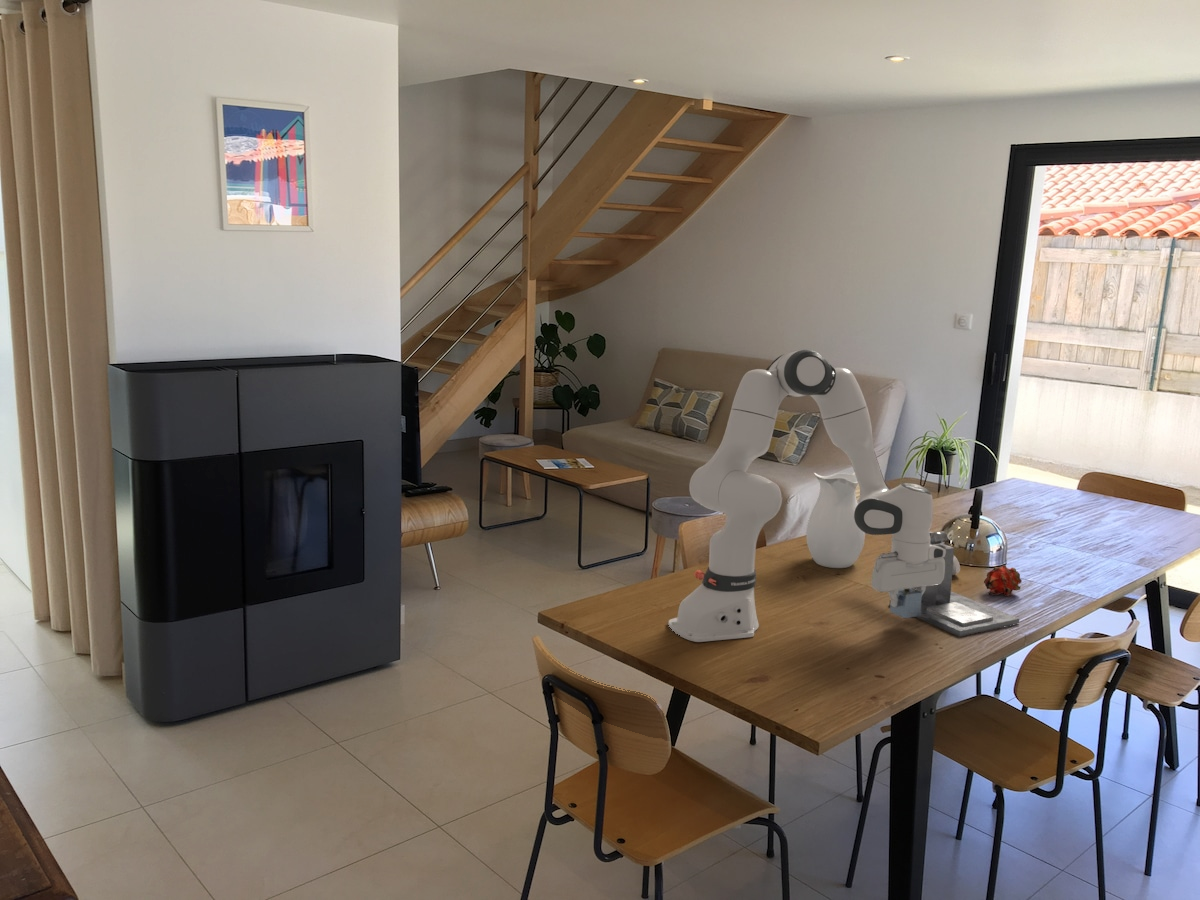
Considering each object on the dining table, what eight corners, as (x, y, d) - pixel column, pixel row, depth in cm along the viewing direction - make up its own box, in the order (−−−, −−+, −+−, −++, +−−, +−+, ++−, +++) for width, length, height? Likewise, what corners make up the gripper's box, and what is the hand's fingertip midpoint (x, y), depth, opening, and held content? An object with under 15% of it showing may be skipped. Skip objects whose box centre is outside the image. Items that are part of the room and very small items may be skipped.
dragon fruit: (1019, 596, 262) (988, 609, 257) (999, 572, 267) (968, 584, 262) (1035, 579, 256) (1003, 591, 251) (1013, 554, 260) (982, 566, 255)
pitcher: (837, 575, 274) (842, 481, 269) (793, 560, 287) (797, 470, 282) (889, 560, 288) (895, 471, 283) (845, 547, 301) (850, 461, 296)
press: (959, 637, 229) (965, 571, 225) (889, 605, 250) (893, 544, 247) (1018, 624, 237) (1024, 560, 234) (946, 594, 258) (950, 536, 255)
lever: (935, 546, 244) (936, 534, 244) (873, 524, 265) (874, 513, 264) (947, 544, 246) (948, 532, 245) (884, 522, 266) (885, 511, 266)
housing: (904, 618, 230) (906, 587, 229) (889, 611, 235) (892, 581, 233) (919, 615, 232) (922, 585, 231) (905, 609, 237) (908, 579, 235)
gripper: (885, 557, 224) (880, 613, 226) (951, 549, 232) (946, 603, 235) (867, 550, 229) (863, 605, 232) (932, 543, 238) (927, 595, 240)
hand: (905, 604), depth 233 cm, fingers closed on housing, 5 cm apart
